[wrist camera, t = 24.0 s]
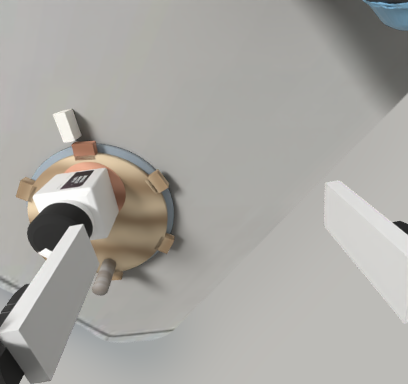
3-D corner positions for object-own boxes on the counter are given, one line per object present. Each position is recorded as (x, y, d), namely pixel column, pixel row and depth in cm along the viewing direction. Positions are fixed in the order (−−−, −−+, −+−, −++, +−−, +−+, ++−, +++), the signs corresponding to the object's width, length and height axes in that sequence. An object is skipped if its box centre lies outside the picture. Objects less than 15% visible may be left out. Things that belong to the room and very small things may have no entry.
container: (55, 173, 43) (6, 217, 31) (107, 166, 43) (77, 207, 31) (72, 218, 46) (33, 273, 34) (119, 211, 46) (97, 264, 34)
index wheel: (177, 269, 54) (176, 301, 47) (50, 279, 53) (30, 312, 46) (164, 136, 43) (160, 152, 36) (4, 145, 42) (-32, 163, 35)
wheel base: (-14, 124, 42) (-27, 128, 39) (147, 95, 42) (145, 98, 39) (61, 276, 54) (55, 288, 52) (185, 255, 54) (185, 265, 51)
